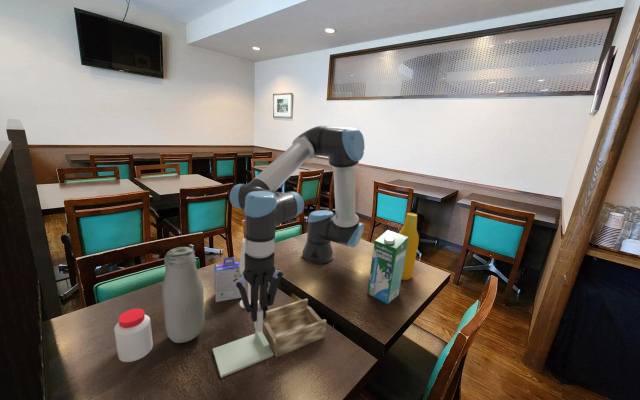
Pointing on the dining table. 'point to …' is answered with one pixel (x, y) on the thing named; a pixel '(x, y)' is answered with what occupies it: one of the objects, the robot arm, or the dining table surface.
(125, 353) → the pill bottle
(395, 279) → the milk carton
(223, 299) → the ink cartridge box
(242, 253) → the champagne flute
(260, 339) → the lid
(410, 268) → the beer bottle
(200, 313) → the glass bottle
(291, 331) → the box
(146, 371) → the dining table surface
